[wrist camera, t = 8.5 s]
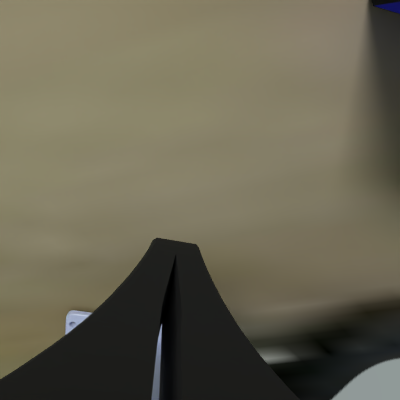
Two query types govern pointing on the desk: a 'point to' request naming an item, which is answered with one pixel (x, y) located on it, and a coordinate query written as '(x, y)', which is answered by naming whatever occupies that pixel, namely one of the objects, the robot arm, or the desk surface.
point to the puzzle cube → (388, 5)
